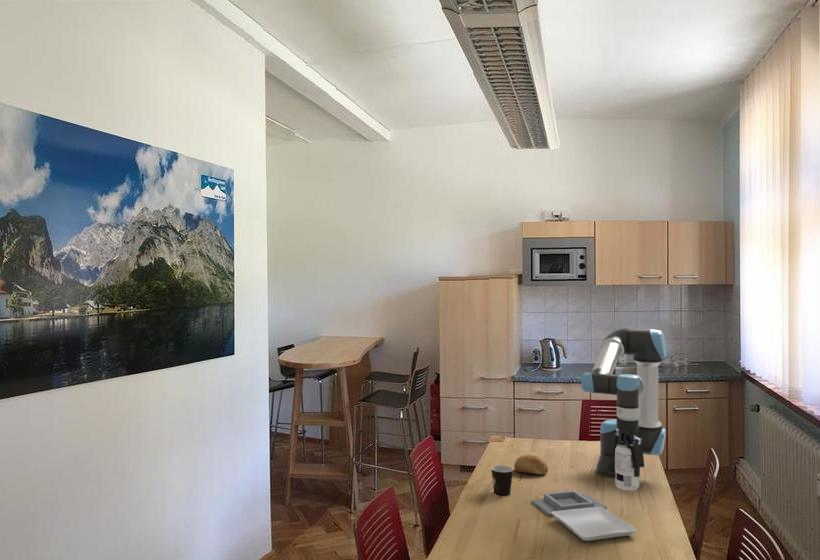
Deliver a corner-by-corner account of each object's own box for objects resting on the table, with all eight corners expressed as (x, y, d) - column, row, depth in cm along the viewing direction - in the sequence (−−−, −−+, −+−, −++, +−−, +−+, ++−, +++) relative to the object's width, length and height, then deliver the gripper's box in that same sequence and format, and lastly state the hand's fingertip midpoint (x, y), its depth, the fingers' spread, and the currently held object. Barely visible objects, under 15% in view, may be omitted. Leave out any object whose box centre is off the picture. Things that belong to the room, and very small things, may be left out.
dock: (585, 496, 237) (585, 488, 237) (606, 509, 223) (606, 501, 223) (531, 502, 230) (531, 494, 230) (549, 516, 217) (549, 508, 217)
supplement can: (611, 483, 219) (611, 442, 219) (632, 482, 220) (633, 442, 220) (620, 491, 211) (621, 449, 211) (643, 490, 212) (643, 449, 212)
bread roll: (545, 479, 257) (545, 460, 257) (511, 473, 263) (511, 455, 263) (550, 472, 265) (550, 454, 265) (517, 467, 272) (517, 450, 272)
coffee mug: (512, 498, 234) (512, 473, 234) (490, 496, 236) (490, 471, 236) (513, 487, 246) (513, 463, 246) (492, 486, 247) (492, 462, 247)
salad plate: (638, 539, 200) (638, 529, 200) (583, 547, 194) (583, 536, 193) (601, 514, 220) (601, 505, 220) (549, 521, 214) (549, 511, 214)
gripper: (601, 412, 224) (600, 472, 225) (637, 426, 204) (637, 492, 204) (618, 410, 226) (618, 470, 227) (656, 424, 206) (655, 490, 207)
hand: (627, 480), depth 216 cm, fingers closed on supplement can, 8 cm apart
